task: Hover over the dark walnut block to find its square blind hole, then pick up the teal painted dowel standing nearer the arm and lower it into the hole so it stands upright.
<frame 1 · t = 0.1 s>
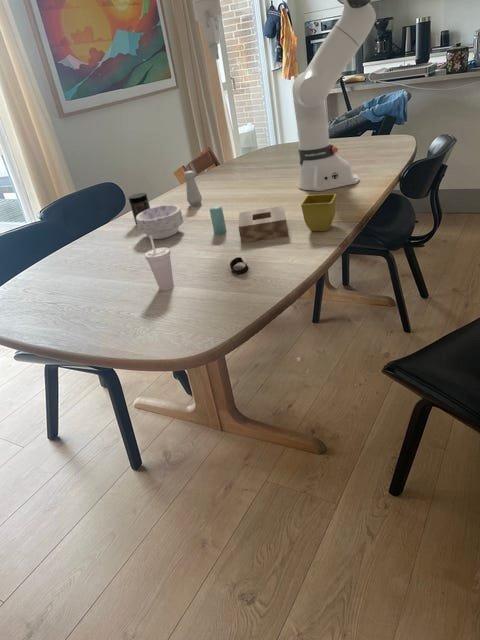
hand: (215, 59, 161), 48 cm above the table, tool pointing down, fingers open, 8 cm apart
flower pot: (321, 229, 139), on the table
paper bowls: (163, 235, 160), on the table
smoothie: (166, 287, 121), on the table
salt shaker: (195, 205, 186), on the table
dowel: (220, 232, 152), on the table
watch: (240, 271, 123), on the table
supplement container: (145, 223, 176), on the table
bore block: (263, 231, 145), on the table
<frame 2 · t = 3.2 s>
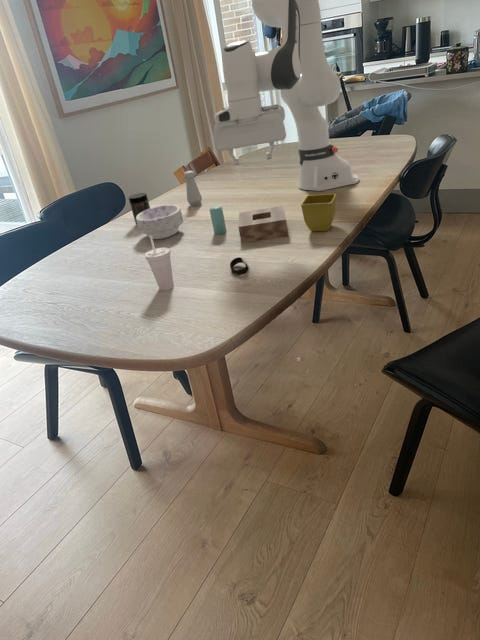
hand: (253, 161, 135), 21 cm above the table, tool pointing down, fingers open, 8 cm apart
nothing on the table moved.
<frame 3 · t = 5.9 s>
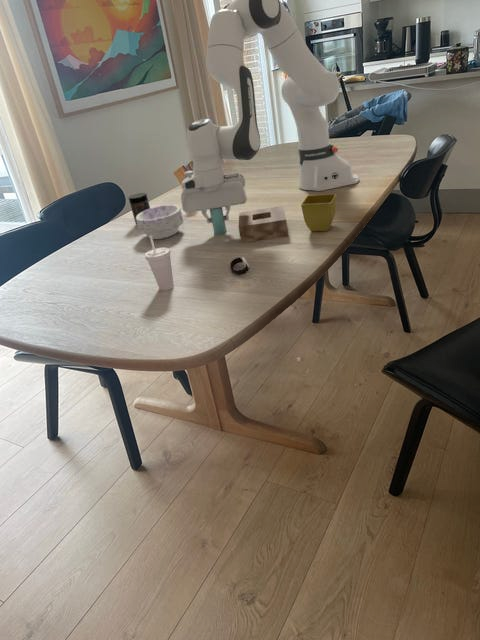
hand: (218, 221, 150), 4 cm above the table, tool pointing down, fingers closed on dowel, 4 cm apart
dowel: (220, 232, 152), on the table, touching gripper
everything else where it was.
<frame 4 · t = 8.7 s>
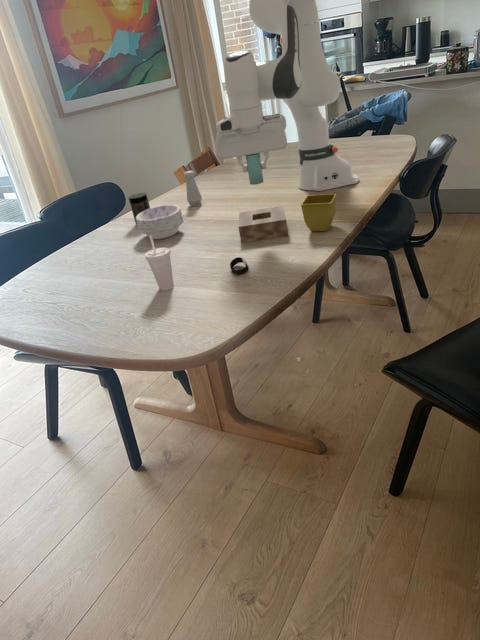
hand: (254, 170, 136), 19 cm above the table, tool pointing down, fingers closed on dowel, 4 cm apart
dowel: (256, 182, 138), point 15 cm above the table, touching gripper
everything else where it was.
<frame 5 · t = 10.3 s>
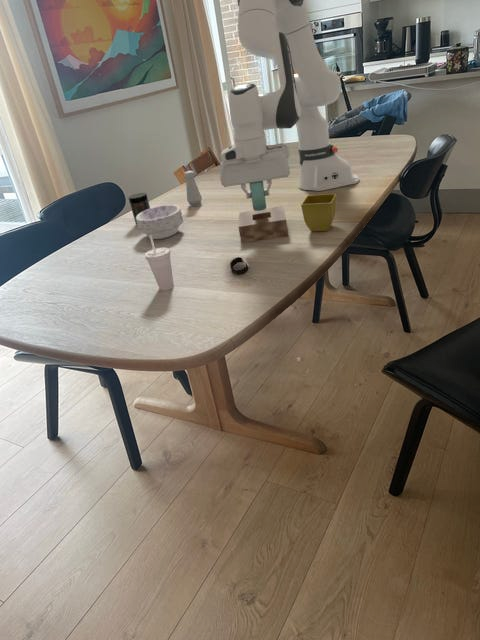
hand: (258, 196, 140), 11 cm above the table, tool pointing down, fingers closed on dowel, 4 cm apart
dowel: (259, 208, 142), point 7 cm above the table, touching gripper
everything else where it was.
when the fingers open (7 cm above the table, at t = 11.7 s): dowel drops 2 cm, resting on bore block.
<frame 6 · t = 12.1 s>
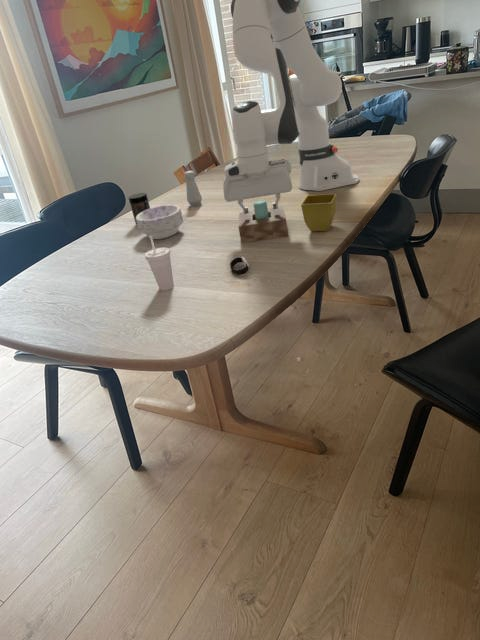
hand: (260, 210, 142), 7 cm above the table, tool pointing down, fingers open, 8 cm apart
dowel: (263, 228, 145), point 1 cm above the table, touching bore block
everything else where it was.
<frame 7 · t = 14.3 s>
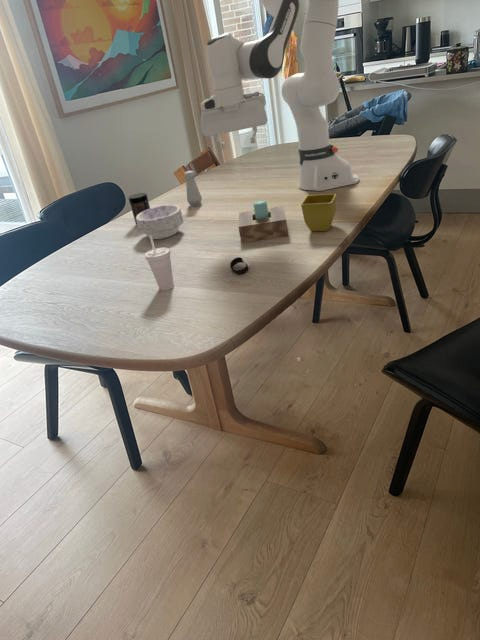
hand: (238, 145, 146), 24 cm above the table, tool pointing down, fingers open, 8 cm apart
nothing on the table moved.
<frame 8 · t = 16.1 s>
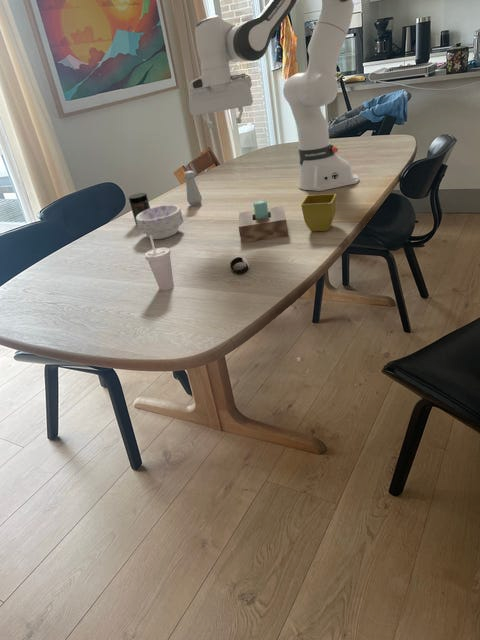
hand: (224, 125, 153), 29 cm above the table, tool pointing down, fingers open, 8 cm apart
nothing on the table moved.
at the end: dowel 0.1 cm off-centre on the bore block, point 1.0 cm above the bore block's base; dowel tilted 0°; the gripper is holding nothing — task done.
